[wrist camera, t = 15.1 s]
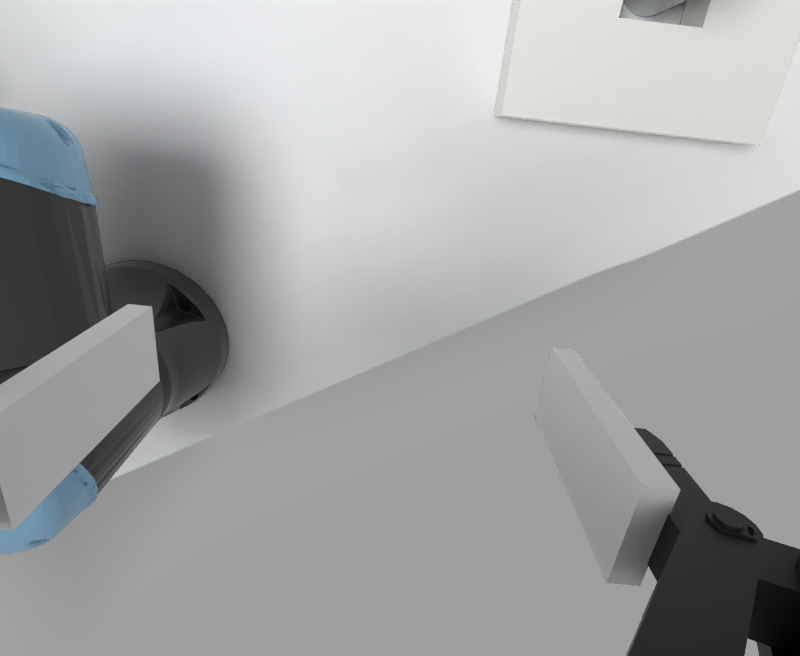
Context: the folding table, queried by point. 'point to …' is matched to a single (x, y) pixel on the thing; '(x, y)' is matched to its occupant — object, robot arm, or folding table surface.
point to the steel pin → (650, 6)
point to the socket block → (649, 67)
